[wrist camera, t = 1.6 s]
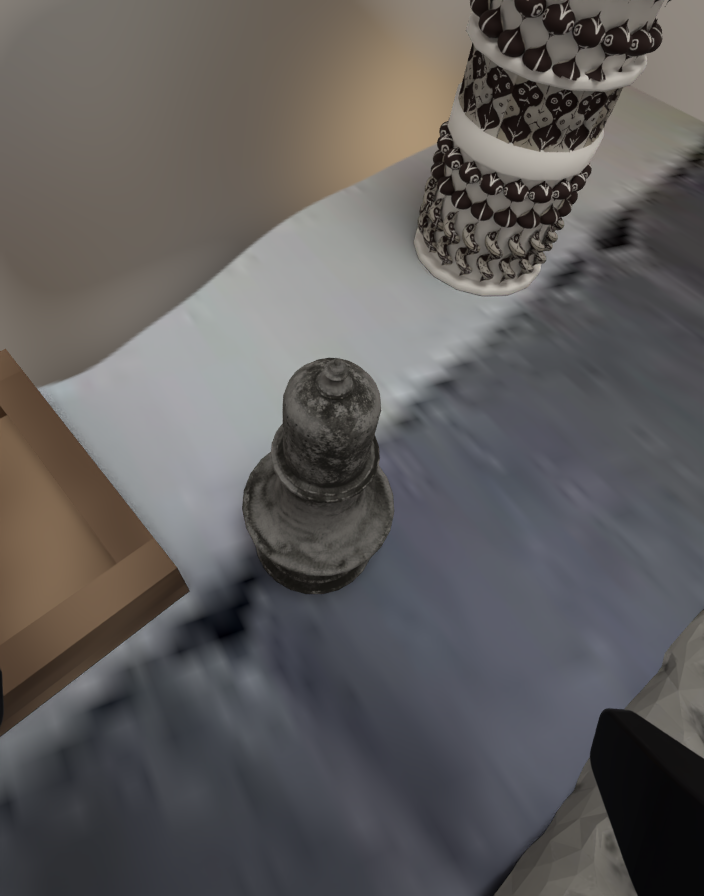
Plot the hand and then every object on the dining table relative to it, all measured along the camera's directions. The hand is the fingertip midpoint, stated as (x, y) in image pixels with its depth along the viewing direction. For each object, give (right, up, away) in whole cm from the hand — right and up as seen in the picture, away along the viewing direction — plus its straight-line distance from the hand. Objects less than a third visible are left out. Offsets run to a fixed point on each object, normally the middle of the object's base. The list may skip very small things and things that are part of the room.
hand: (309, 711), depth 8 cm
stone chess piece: (-1, 0, +16) cm, 16 cm away
